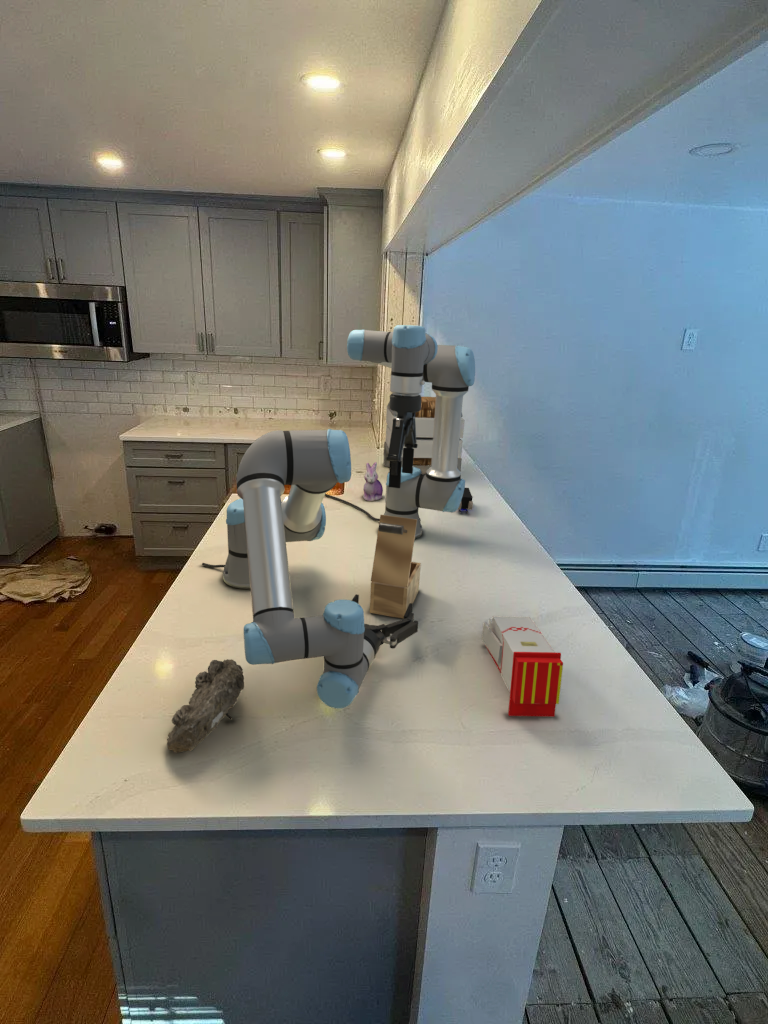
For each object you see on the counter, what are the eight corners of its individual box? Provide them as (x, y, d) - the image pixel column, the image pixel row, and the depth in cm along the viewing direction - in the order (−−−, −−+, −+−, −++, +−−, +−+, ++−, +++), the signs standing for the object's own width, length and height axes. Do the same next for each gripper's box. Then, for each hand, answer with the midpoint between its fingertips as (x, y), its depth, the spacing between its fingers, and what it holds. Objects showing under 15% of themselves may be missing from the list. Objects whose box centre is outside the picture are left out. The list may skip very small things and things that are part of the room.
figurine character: (473, 518, 221) (467, 502, 235) (475, 501, 218) (469, 485, 231) (455, 518, 221) (451, 501, 234) (457, 500, 218) (453, 485, 231)
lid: (381, 514, 146) (373, 511, 138) (417, 519, 143) (411, 517, 135) (371, 581, 145) (362, 582, 137) (407, 587, 143) (401, 588, 134)
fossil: (192, 660, 117) (244, 628, 112) (224, 691, 120) (276, 661, 115) (142, 746, 98) (202, 712, 93) (182, 779, 101) (242, 748, 96)
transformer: (382, 463, 289) (386, 382, 275) (445, 464, 293) (451, 384, 279) (390, 482, 257) (394, 392, 243) (460, 483, 261) (468, 394, 247)
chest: (386, 585, 162) (387, 557, 159) (418, 590, 160) (420, 563, 157) (369, 612, 147) (370, 582, 145) (405, 619, 145) (407, 588, 142)
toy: (528, 601, 136) (572, 659, 107) (523, 653, 139) (565, 722, 110) (478, 600, 136) (508, 657, 107) (474, 652, 139) (503, 722, 109)
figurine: (367, 502, 230) (368, 467, 225) (357, 495, 238) (358, 460, 233) (388, 500, 234) (389, 465, 229) (377, 492, 242) (378, 458, 237)
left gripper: (302, 655, 123) (335, 609, 143) (415, 677, 118) (432, 625, 137) (302, 625, 121) (335, 582, 140) (417, 645, 115) (435, 598, 134)
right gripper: (409, 402, 122) (404, 496, 129) (431, 388, 145) (425, 469, 152) (376, 399, 124) (372, 492, 131) (402, 386, 146) (398, 465, 154)
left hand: (383, 603), depth 138 cm, fingers open, 13 cm apart
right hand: (401, 479), depth 141 cm, fingers open, 13 cm apart
